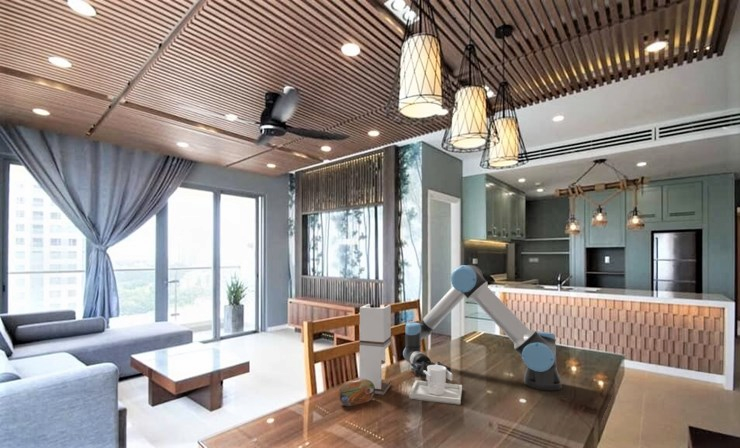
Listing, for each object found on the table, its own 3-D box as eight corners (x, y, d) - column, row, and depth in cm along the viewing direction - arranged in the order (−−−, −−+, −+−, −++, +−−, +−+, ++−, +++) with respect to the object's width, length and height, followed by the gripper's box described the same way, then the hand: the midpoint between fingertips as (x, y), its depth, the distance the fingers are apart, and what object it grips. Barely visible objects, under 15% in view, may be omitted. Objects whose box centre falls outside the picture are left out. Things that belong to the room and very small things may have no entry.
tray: (462, 389, 155) (462, 385, 156) (460, 404, 140) (460, 399, 140) (415, 384, 161) (415, 380, 161) (409, 398, 146) (409, 393, 146)
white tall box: (383, 394, 150) (383, 308, 153) (359, 391, 153) (359, 307, 156) (390, 385, 161) (390, 304, 164) (368, 382, 164) (368, 303, 167)
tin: (340, 408, 137) (340, 385, 138) (337, 405, 140) (337, 382, 140) (375, 400, 144) (375, 378, 145) (371, 398, 147) (371, 376, 147)
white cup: (446, 396, 146) (446, 371, 147) (426, 394, 148) (426, 369, 149) (446, 389, 154) (446, 365, 155) (427, 388, 155) (427, 364, 156)
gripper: (441, 368, 171) (465, 385, 149) (398, 371, 166) (416, 389, 144) (441, 352, 171) (464, 366, 149) (398, 354, 167) (416, 370, 145)
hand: (440, 378), depth 147 cm, fingers open, 8 cm apart
